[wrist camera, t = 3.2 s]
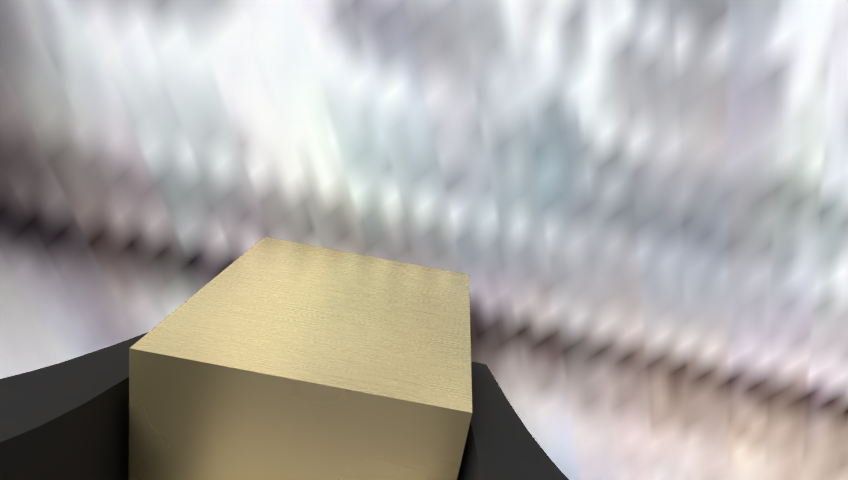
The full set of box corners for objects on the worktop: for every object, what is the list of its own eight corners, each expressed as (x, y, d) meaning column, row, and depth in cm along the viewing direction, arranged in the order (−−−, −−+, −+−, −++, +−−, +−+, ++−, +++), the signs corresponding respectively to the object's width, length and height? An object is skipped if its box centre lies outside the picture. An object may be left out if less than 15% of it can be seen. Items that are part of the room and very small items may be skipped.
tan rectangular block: (469, 274, 12) (472, 412, 7) (433, 446, 13) (415, 661, 8) (264, 237, 12) (129, 348, 7) (249, 412, 13) (128, 604, 8)
